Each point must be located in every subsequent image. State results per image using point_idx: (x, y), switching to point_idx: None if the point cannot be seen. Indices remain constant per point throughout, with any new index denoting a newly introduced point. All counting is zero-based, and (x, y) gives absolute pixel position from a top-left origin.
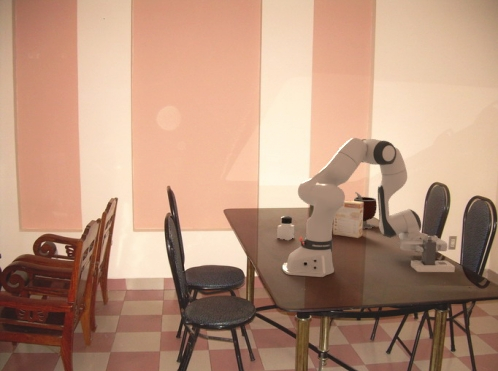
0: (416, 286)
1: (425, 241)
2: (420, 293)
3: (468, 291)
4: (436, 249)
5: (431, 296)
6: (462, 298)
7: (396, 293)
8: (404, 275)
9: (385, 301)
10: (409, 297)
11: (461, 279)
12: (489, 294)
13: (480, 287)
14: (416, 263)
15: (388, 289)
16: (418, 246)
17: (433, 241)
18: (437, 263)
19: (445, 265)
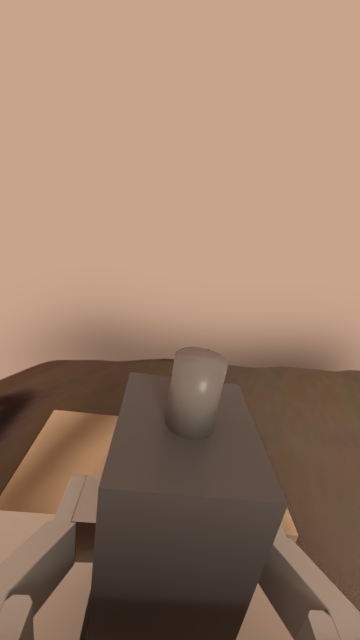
0: (263, 427)
1: (251, 422)
2: (255, 389)
3: (102, 381)
4: (90, 477)
5: (229, 375)
6: (153, 359)
7: (321, 396)
8: (331, 573)
9: (335, 372)
10: (285, 378)
11: (5, 478)
12: (56, 363)
13: (23, 397)
14: (271, 617)
15: (352, 418)
16: (321, 575)
17: (144, 399)
18: (47, 612)
19: (21, 535)
